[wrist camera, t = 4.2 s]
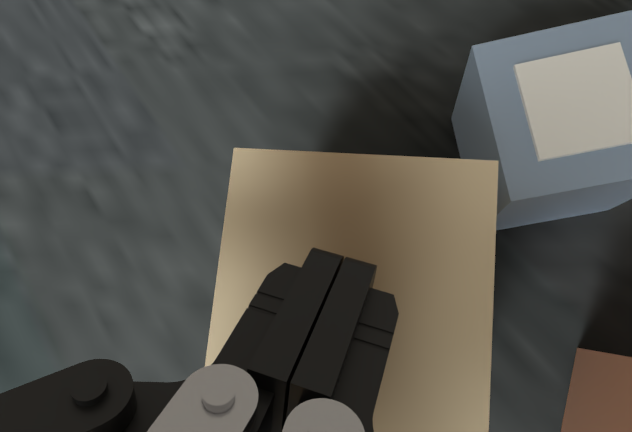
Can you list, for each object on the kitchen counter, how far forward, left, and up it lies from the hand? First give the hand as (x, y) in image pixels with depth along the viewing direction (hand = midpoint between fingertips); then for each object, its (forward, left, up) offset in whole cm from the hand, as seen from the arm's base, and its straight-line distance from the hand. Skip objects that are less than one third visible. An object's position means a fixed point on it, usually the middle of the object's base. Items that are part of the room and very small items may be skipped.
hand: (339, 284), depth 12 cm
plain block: (0, 0, -9) cm, 9 cm away
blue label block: (-6, -6, -9) cm, 13 cm away
